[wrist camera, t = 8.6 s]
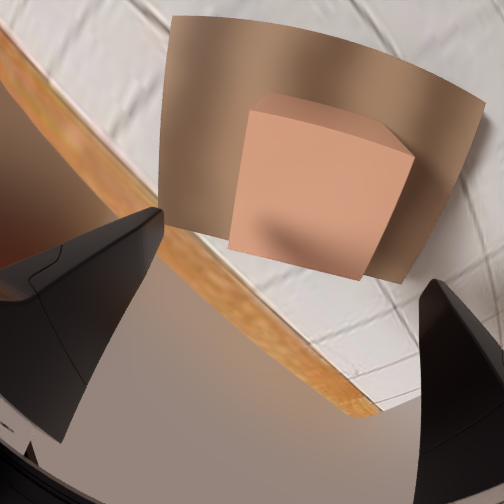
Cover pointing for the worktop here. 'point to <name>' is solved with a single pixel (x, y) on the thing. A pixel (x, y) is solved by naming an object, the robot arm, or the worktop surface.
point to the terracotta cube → (316, 185)
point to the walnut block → (309, 88)
